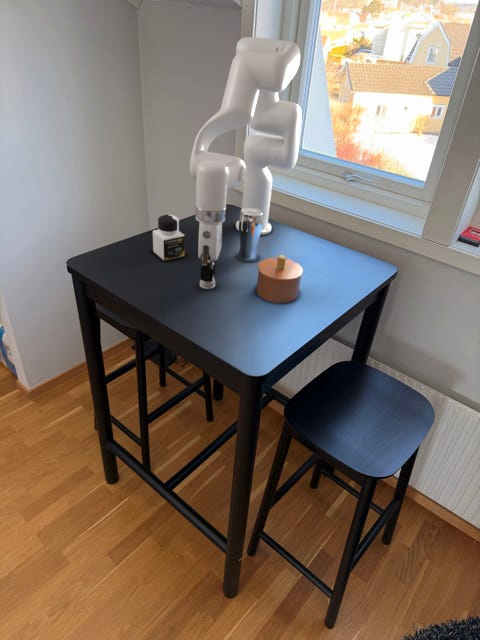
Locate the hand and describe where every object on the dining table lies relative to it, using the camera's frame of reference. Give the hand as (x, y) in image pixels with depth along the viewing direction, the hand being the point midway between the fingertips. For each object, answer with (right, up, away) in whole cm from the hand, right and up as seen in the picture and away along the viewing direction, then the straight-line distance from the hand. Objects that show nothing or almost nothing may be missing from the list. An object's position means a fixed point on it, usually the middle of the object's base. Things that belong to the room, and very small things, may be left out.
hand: (207, 276), depth 128 cm
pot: (+19, -4, +2) cm, 20 cm away
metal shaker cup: (+11, +7, +18) cm, 23 cm away
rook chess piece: (0, -3, +2) cm, 3 cm away
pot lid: (+20, +2, -2) cm, 20 cm away
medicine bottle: (-13, +8, +16) cm, 22 cm away
